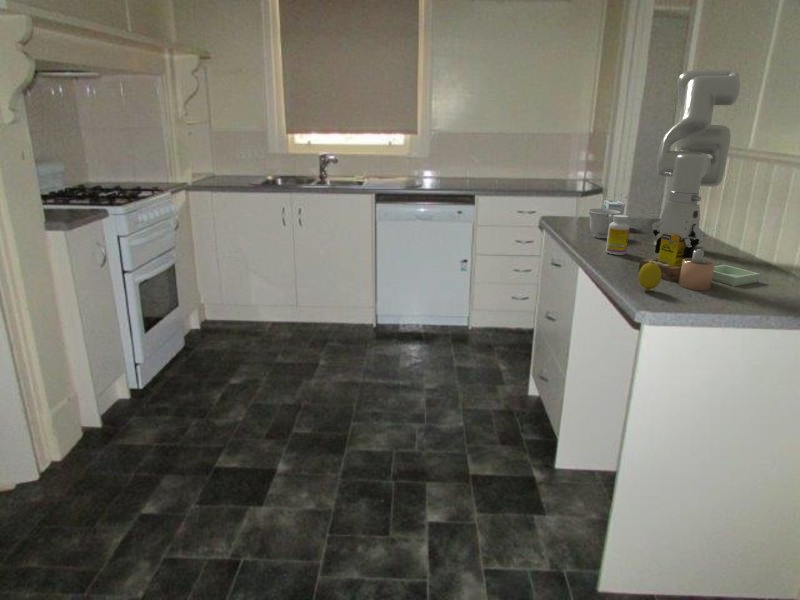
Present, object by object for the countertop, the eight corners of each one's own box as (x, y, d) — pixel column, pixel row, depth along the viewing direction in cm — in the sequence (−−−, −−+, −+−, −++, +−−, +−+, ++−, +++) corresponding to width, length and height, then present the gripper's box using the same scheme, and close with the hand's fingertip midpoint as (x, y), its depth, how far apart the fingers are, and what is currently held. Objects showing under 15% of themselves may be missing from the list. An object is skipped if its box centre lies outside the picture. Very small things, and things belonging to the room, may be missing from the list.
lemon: (632, 287, 155) (637, 259, 153) (652, 287, 156) (656, 259, 153) (642, 293, 150) (647, 264, 147) (662, 293, 150) (667, 264, 148)
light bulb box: (600, 224, 247) (603, 199, 243) (616, 225, 246) (619, 200, 243) (605, 229, 237) (608, 203, 233) (621, 230, 236) (625, 204, 232)
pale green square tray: (722, 272, 173) (724, 264, 172) (758, 282, 163) (760, 273, 162) (698, 276, 168) (700, 268, 167) (733, 286, 159) (735, 277, 158)
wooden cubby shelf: (670, 267, 178) (672, 255, 177) (702, 275, 169) (704, 263, 167) (638, 271, 172) (640, 259, 171) (669, 280, 162) (671, 268, 161)
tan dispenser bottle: (691, 280, 163) (697, 245, 160) (716, 288, 156) (724, 251, 153) (671, 283, 160) (678, 247, 156) (697, 291, 153) (704, 253, 150)
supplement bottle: (627, 256, 191) (633, 218, 187) (606, 254, 192) (611, 217, 188) (624, 251, 197) (629, 214, 193) (604, 250, 198) (609, 213, 194)
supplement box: (672, 273, 166) (679, 236, 163) (655, 268, 171) (661, 233, 168) (686, 271, 169) (693, 235, 165) (669, 267, 174) (675, 231, 170)
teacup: (592, 241, 213) (596, 214, 210) (580, 233, 227) (583, 208, 224) (625, 241, 213) (629, 215, 210) (610, 234, 227) (614, 208, 224)
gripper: (719, 201, 158) (707, 261, 163) (666, 193, 172) (657, 249, 177) (701, 203, 154) (690, 264, 160) (649, 194, 169) (640, 251, 174)
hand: (672, 256), depth 169 cm, fingers open, 9 cm apart
